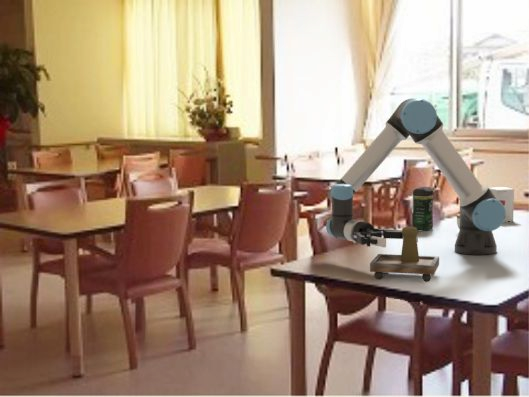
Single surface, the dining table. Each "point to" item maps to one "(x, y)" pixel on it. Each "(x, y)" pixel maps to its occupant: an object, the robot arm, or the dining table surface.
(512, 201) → the supplement box
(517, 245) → the dining table surface
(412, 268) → the cart
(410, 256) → the cork
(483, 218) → the robot arm
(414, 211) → the coffee jar
